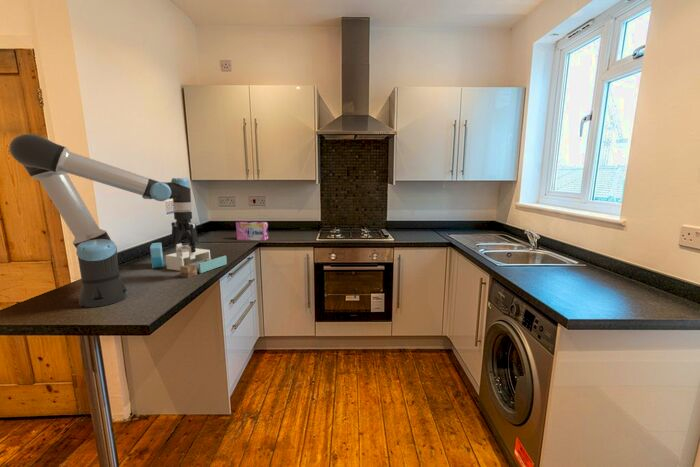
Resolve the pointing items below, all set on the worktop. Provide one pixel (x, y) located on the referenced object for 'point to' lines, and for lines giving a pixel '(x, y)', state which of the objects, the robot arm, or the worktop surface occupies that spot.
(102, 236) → the robot arm
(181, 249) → the disc
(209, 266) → the teal grey flat block
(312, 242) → the worktop surface
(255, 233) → the gum box
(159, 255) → the data package
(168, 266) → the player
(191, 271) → the block
